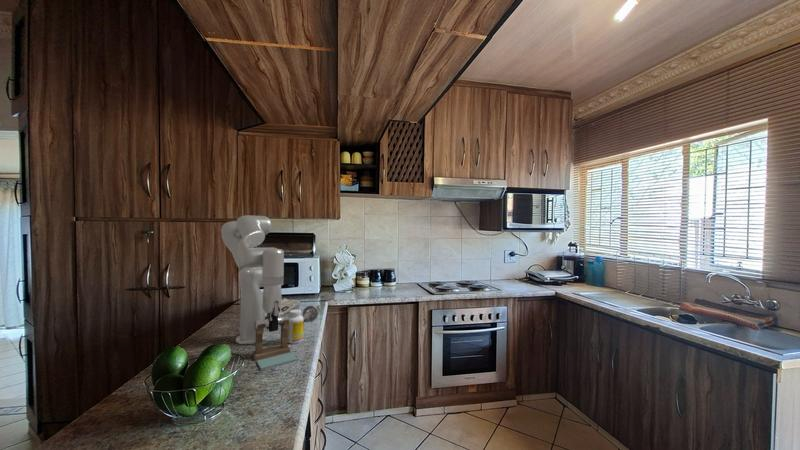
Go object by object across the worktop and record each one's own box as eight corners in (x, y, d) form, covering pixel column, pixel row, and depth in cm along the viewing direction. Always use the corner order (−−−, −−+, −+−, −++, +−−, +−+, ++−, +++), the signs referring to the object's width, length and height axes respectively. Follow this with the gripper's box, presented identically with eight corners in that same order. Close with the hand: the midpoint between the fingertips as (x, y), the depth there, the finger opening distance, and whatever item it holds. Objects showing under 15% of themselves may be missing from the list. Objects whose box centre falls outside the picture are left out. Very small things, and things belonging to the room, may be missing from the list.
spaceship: (287, 315, 130) (304, 309, 131) (310, 304, 165) (323, 298, 165) (293, 332, 129) (310, 325, 130) (314, 317, 164) (327, 311, 164)
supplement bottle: (306, 339, 123) (306, 309, 123) (297, 345, 117) (297, 313, 117) (293, 337, 125) (293, 308, 125) (283, 343, 119) (283, 312, 119)
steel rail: (257, 330, 104) (257, 322, 104) (255, 327, 107) (255, 319, 106) (288, 324, 111) (288, 317, 111) (285, 321, 113) (286, 314, 113)
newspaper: (272, 321, 147) (273, 314, 147) (249, 320, 148) (250, 314, 148) (301, 304, 183) (301, 298, 183) (282, 303, 183) (282, 297, 183)
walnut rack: (252, 354, 107) (253, 321, 107) (285, 347, 115) (286, 316, 115) (255, 360, 102) (256, 325, 103) (290, 352, 110) (290, 319, 110)
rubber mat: (256, 362, 101) (256, 360, 101) (291, 353, 109) (291, 352, 109) (261, 370, 96) (261, 368, 96) (297, 360, 103) (297, 358, 103)
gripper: (257, 279, 113) (256, 325, 113) (267, 285, 100) (266, 338, 100) (277, 277, 118) (276, 322, 117) (289, 283, 105) (288, 333, 104)
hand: (272, 329), depth 109 cm, fingers closed on steel rail, 3 cm apart
